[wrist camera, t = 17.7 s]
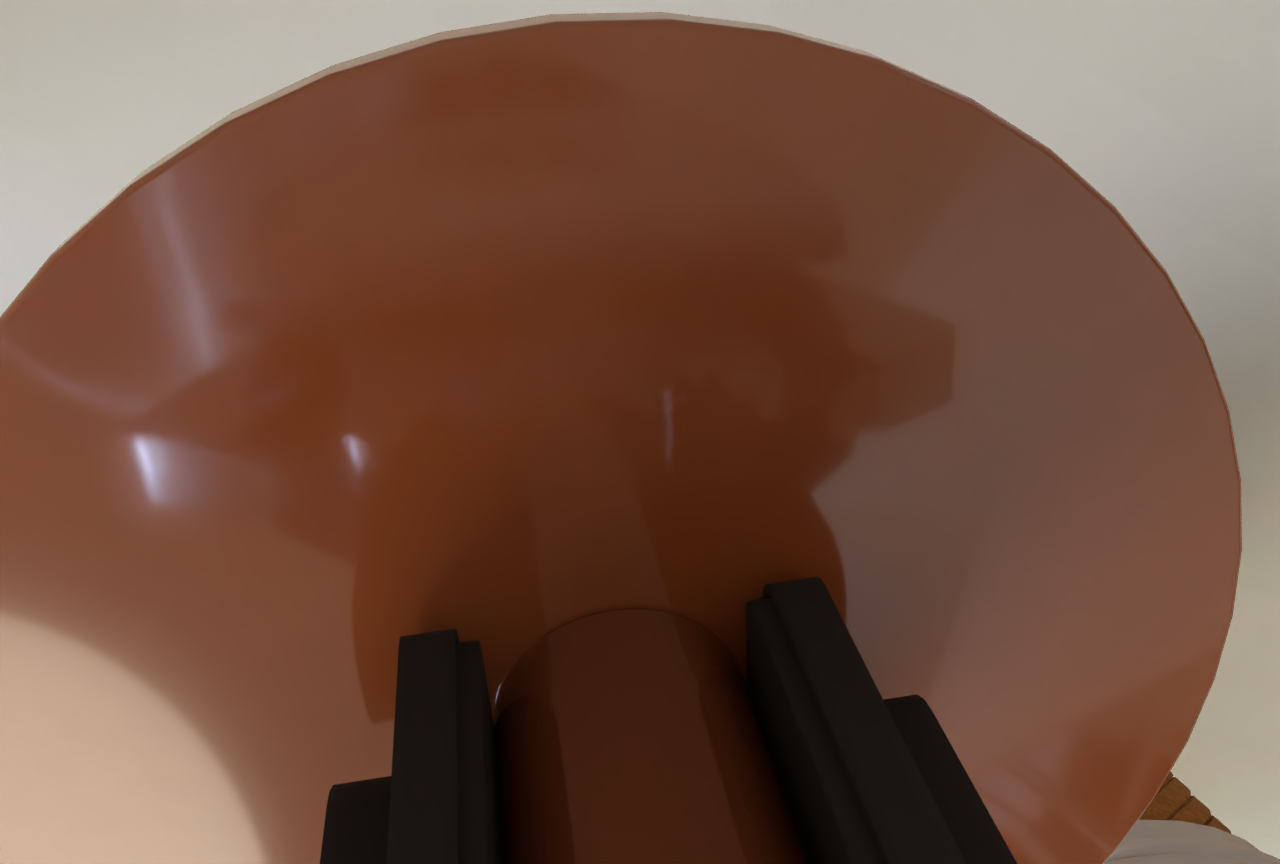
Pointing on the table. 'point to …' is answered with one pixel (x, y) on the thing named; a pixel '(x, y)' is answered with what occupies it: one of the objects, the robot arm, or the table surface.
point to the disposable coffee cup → (1183, 834)
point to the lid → (598, 452)
